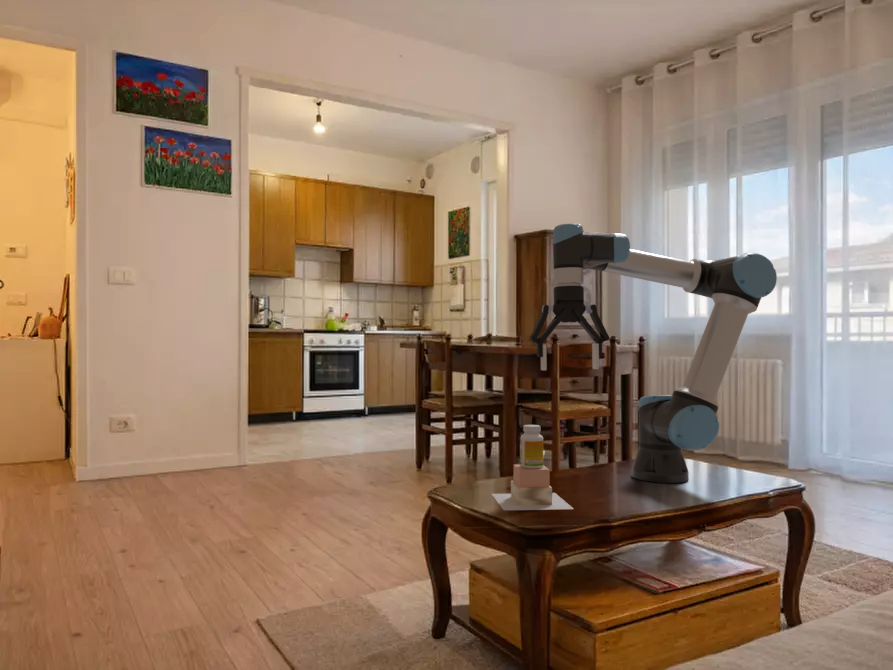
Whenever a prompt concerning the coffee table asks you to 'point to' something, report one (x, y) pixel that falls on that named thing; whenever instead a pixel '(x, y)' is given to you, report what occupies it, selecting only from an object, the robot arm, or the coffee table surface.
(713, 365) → the robot arm
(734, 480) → the coffee table surface
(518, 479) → the tower top block
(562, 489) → the coffee table surface
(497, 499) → the tower mat
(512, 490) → the tower base block
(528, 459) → the supplement bottle
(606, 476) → the coffee table surface
